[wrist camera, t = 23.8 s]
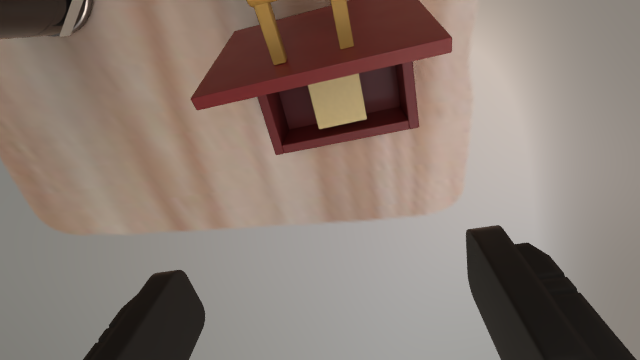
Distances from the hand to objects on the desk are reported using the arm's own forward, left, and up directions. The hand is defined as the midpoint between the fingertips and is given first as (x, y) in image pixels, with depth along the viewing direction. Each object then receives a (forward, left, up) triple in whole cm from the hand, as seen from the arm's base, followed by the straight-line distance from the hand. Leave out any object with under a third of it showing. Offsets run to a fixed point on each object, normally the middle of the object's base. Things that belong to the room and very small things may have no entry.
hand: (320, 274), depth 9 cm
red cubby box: (0, +1, -25) cm, 25 cm away
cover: (0, +5, -14) cm, 15 cm away
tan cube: (0, 0, -24) cm, 24 cm away
